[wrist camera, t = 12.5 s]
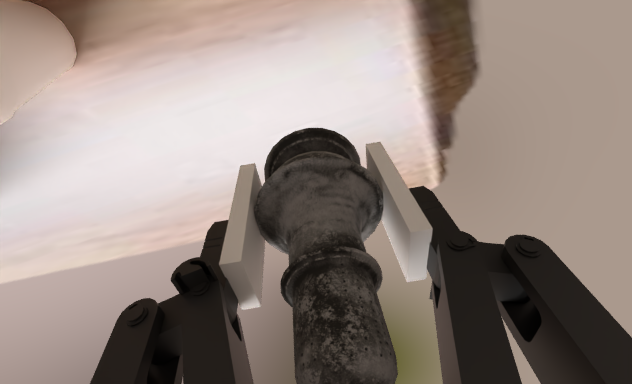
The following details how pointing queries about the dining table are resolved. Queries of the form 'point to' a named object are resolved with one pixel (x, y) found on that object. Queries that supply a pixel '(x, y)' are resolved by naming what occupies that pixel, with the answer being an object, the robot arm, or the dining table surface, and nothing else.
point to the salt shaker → (327, 257)
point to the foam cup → (30, 53)
